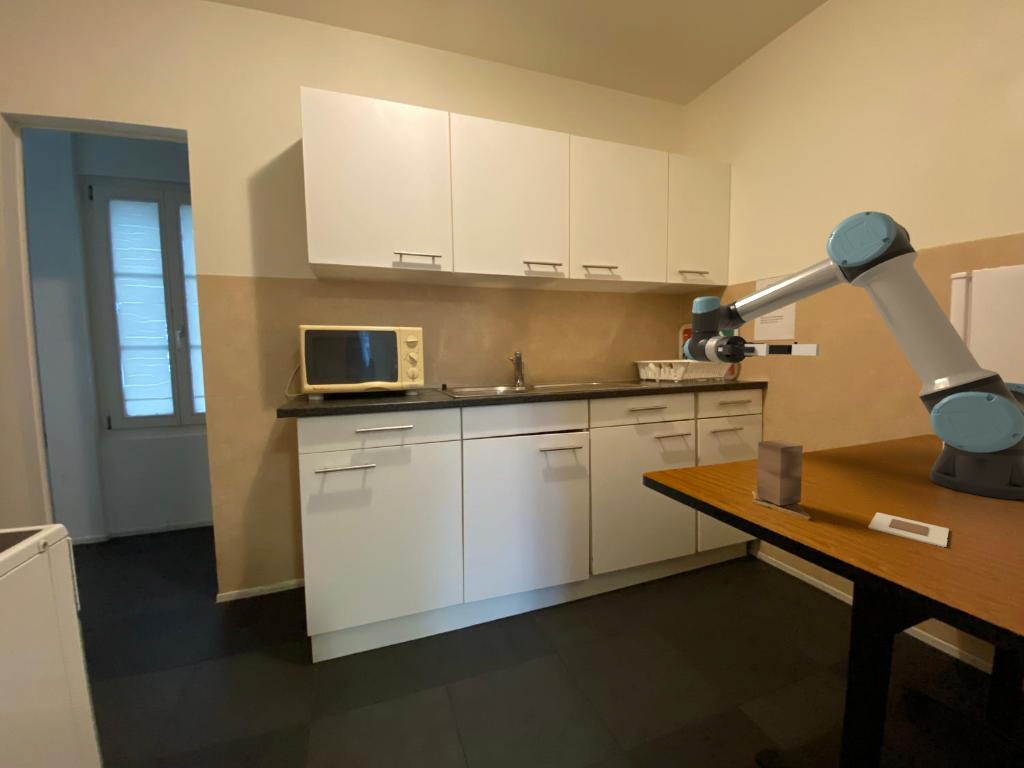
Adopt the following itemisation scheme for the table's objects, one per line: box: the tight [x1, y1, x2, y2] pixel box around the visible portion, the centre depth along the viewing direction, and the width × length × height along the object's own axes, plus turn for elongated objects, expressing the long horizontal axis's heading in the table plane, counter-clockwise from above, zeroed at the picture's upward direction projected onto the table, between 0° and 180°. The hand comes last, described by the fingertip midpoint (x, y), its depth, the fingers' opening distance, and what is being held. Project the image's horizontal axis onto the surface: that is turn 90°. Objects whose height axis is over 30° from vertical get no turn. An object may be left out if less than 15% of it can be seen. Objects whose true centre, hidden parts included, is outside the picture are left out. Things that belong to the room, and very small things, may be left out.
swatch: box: [867, 511, 950, 548], centre depth 68 cm, size 9×9×1 cm
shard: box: [751, 490, 812, 521], centre depth 77 cm, size 11×8×2 cm
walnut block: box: [756, 439, 804, 506], centre depth 77 cm, size 5×5×11 cm
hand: (793, 349), depth 92 cm, fingers open, 13 cm apart
